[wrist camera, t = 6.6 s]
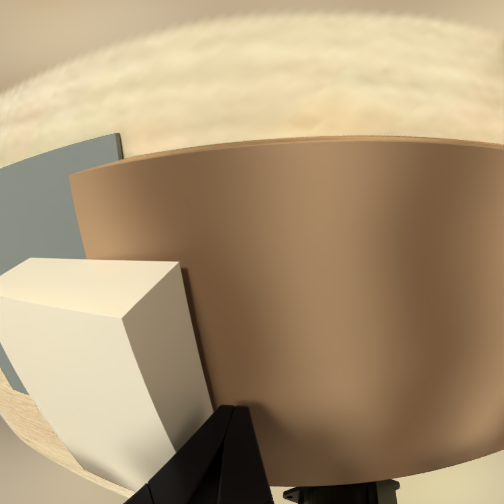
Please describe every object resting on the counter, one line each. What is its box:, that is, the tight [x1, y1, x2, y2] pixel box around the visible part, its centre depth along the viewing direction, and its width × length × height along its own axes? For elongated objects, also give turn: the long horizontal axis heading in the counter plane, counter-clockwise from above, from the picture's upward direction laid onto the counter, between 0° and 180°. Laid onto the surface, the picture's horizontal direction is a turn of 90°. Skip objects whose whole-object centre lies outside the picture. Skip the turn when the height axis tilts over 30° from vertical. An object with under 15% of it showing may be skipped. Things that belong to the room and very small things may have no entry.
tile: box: [0, 258, 213, 492], centre depth 9 cm, size 6×9×2 cm, turn 5°
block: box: [69, 136, 504, 487], centre depth 10 cm, size 20×14×4 cm
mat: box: [0, 133, 122, 396], centre depth 15 cm, size 16×16×1 cm
